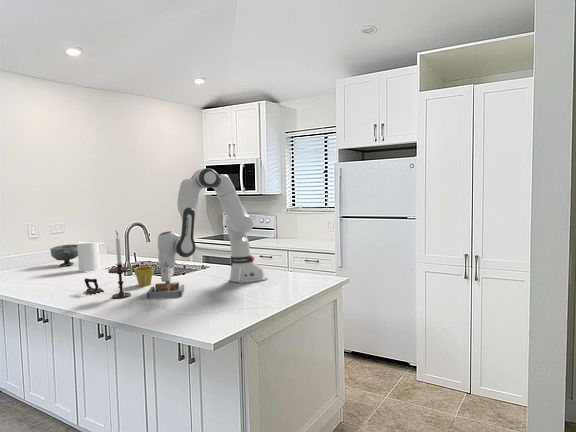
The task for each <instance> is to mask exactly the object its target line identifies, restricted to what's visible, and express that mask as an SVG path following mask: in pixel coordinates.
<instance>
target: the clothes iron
mask: <svg viewBox="0 0 576 432" xmlns="http://www.w3.org/2000/svg"><path fill="white" fill-rule="evenodd" d="M84 283H85V285H86V290H85V293H86V292H87V293H89V294H88V295H90V294H94V295H97V294H96V293H98V294H101V293H100V292H102V293H104V292H105V290H103V289H102V288H99V285H98V279H97V278H84ZM90 283H93V285H94V287H95V288H94V287H92V286H90ZM87 293H86V294H87Z"/></svg>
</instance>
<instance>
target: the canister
mask: <svg viewBox="0 0 576 432" xmlns="http://www.w3.org/2000/svg"><path fill="white" fill-rule="evenodd" d="M76 245H77V248H78V256H77V260H78V272H79V271H93V272H95V271H94V270H98V271H100V270H101V263H100V262H101V260H100V258H101V257H100V249H99V247H100V245H99V241H98V240H90V241H89V240H88V241H80V242H77V243H76ZM99 269H100V270H99Z"/></svg>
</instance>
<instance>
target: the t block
mask: <svg viewBox="0 0 576 432" xmlns="http://www.w3.org/2000/svg"><path fill="white" fill-rule="evenodd" d="M154 287H155V292H162V291H176V290H179V288H180V282H170V283H166V282H165V283H164V282H160V283H155V284H154Z"/></svg>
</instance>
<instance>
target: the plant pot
mask: <svg viewBox="0 0 576 432" xmlns="http://www.w3.org/2000/svg"><path fill="white" fill-rule="evenodd" d="M153 274H154V267H153V266H138V267H135V268H134V275H135V276H136V280H137V283H138V286H140V287H146V286H150V285H151V284H152V278H153Z"/></svg>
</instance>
